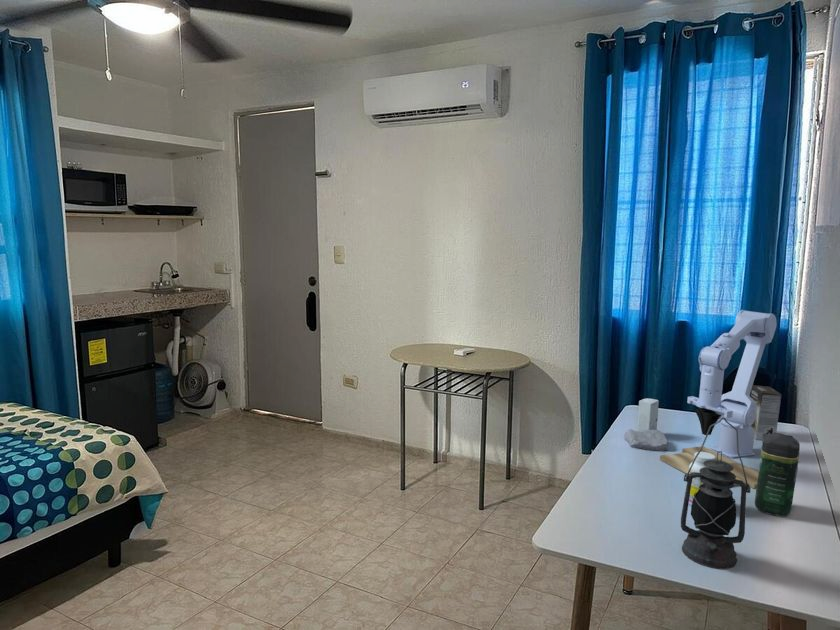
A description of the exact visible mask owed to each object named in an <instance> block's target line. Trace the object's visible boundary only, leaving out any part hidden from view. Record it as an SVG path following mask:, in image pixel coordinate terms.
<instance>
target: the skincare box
mask: <svg viewBox="0 0 840 630" xmlns="http://www.w3.org/2000/svg"><path fill="white" fill-rule="evenodd" d="M659 402H660V401H659V400H658V399H654V398H649V397H647V398H643V399H641V400H639V401H638V411H637V412H638V414H637V424H636V425H637V426H636V431H644V430H658V418H659V417H658V416H659V405H660V404H659Z"/></svg>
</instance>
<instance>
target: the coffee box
mask: <svg viewBox="0 0 840 630" xmlns="http://www.w3.org/2000/svg"><path fill="white" fill-rule="evenodd" d="M749 396H750V397H751V398H752V400H753V401H754V402H755V403H756V405H757V408H756V416H755V420H754V423H753V424H752V425H751V427H752V428H753V430H754V440H756V441H757V440H758V441H760V440H761V441H763V439H764V438H765V437H766V436H767V435H769V434H773V433H777V429H778V425H779V424H778V422H779V417H780V416H779V415H780V407H781V399H782V394H781V393H780V392H779V391H777V390H776V389H774V388H773V387H771V386H763V385H757V384H756V385H755V384H753V386H752V389H751V392H750V395H749Z"/></svg>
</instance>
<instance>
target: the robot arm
mask: <svg viewBox="0 0 840 630" xmlns="http://www.w3.org/2000/svg"><path fill="white" fill-rule="evenodd" d="M777 325H778V324H777V318H776V315H775V314H774V313H766V312H759V311H758V312H757V311H750V310H745V309H741V310H740V311H739V312H737V314H736V316H735V324H734V325H733V326H732V328H731V329H730V331H729V332H724V333H722V334H721V335H720V336H719V337H718V338H717V339H716V340H715V341H714V342H713V343H712V344H711V345H710V346H705V347H702V349H701V350H700V352H699V355H698V363H699V371H700V372H701V374H700V385H699V394H698V397H696V396H693V395H691V396H687V401H686V402H687V404H689V405H690V404H691V405H694V406H696V407H698V408H697V409H696V408H695V414H696V416H697V417H698V421H699V423H700V429H701V434H702V435H704V436H706V434H707V432H708V429H709V427H710V426H711V425H712V424H714V423H716V422H718V421H719V420H720V419H721V418H725V419H726V420H727V422H729V423H730V424H731V425H732V426H734V427H735V428H736V429H737V430H738V448H739V454H740V457H741V458H742V457H747V456H748V457H749V456H755V455H756V454H755V452H754V451H753V450H754V444H755V443H754V442H755V438H754V430H753V428H752V427H751V425H752V424H753V423H754V420H755V416H756V408H757V405H756V403H755V402H754V401H753V400H752V398H751V397H750V396H749V395H750V392H751V389H752V386H753V385H754V381H755V378H756V376H757V372H758V369H759V365H760V363H761V359H762V357H763V353H764V350H765V347H766V345H768V344H770V343H772V342H773V341H772V340H773V339H774V336H775V332H776V329H777ZM741 340H743V341H745V343H746V345H745V347H744V350H743V354H742V356H741V360H740V363H739V366H738V369H737V373H736V376H735V379H734V382H733V385H732V389H731V391H728V392H726V393H723V387H724V386H723V385H724V376H725V370H726V369H727V368H728V366H729V363H730V360H732V356H733V354H734V353H735V352H736V351H737V350H738V349H739V348H740V346H741V342H740V341H741ZM719 423H720V426H719V433H718V434H719V436H718V444H717V446H710V447H711V448H710V450H713V451H715V452H718V451H722V455H723V456H725V457H727V458H730V459H733V458H739V456H738V453H737V436H736V430H735V429H734V428H733V427H731V426H730V425H729V424H728V423H726V422H725V420H724V419H722V420H721V422H719ZM719 423H718V424H719ZM715 426H716V424H715V425H714V426H712V427H711V429H710V431H709V434H708V436H711V435H712V432H713V430H714V429H715V428H714V427H715ZM719 454H721V452H719Z"/></svg>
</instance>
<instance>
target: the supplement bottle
mask: <svg viewBox="0 0 840 630" xmlns="http://www.w3.org/2000/svg"><path fill="white" fill-rule="evenodd" d="M697 453H698V452H696V453H695V454H694V458H695V456H696V455H697ZM707 460H715V456H714V455H713V454H710V453H707V452H700V453H699V455H698V456H697V458H696V460H695V462H694V464H693V466H692V468H691V470H690V472H689V474H690V473H692V472H697V473H700V472H699V470H700V469H701V468H703V467H706V466H704V464H703V463H704V461H707ZM692 463H693V462H692ZM692 463H691V464H690V465H689V469H690V467H691V465H692ZM701 484H703V483H702V482H701V481H700V477H696V478H693V479H692V484H691V490H690V497H689V504H688V505H690V506H692V502H693V498H694V493H697V492H698V490H699V489H700V488H699V486H700V485H701ZM695 495H696V494H695Z"/></svg>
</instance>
